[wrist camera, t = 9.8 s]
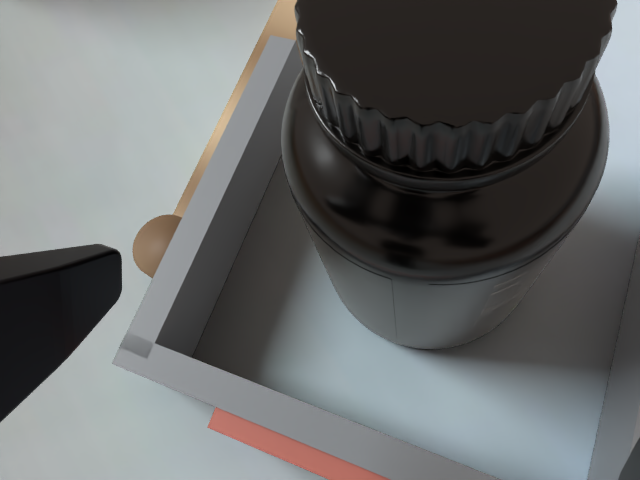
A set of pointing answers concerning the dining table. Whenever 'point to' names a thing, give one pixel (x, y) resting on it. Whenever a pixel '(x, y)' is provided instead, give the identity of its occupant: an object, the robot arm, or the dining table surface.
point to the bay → (269, 405)
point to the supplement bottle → (444, 152)
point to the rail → (208, 148)
